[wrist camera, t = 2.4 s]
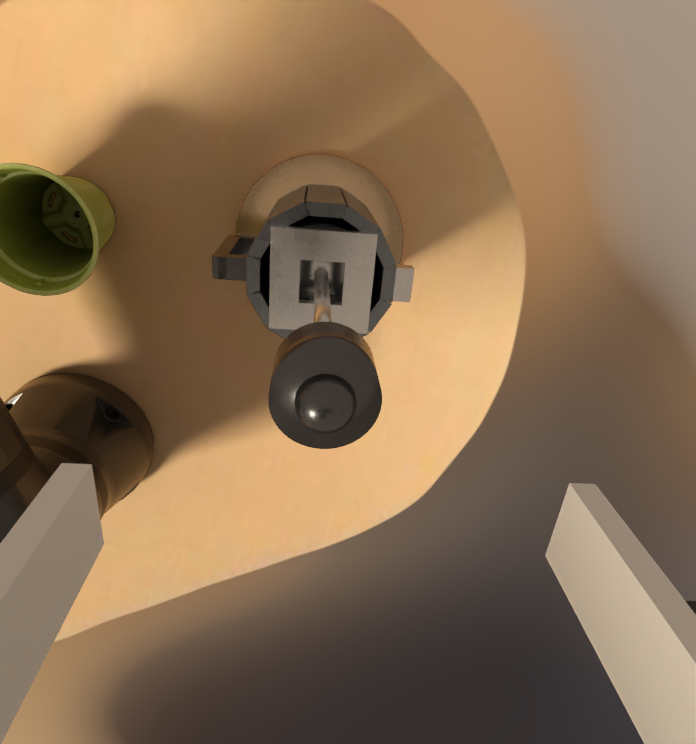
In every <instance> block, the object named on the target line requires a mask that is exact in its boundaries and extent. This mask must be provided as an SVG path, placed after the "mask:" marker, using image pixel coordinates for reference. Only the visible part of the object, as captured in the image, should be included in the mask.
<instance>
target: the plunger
mask: <svg viewBox="0 0 696 744" xmlns="http://www.w3.org/2000/svg"><path fill="white" fill-rule="evenodd" d="M301 227H310V228H324V229H338V230H346V229H344V228H342V227H340V226H338V225H334V224H331V223H324V222H317V223H310V224H306V225H303V226H301ZM343 274H344V263H342V262H327V261H313V260H301V261H300V285H299V299H302V300H314V323H310V324H307V325H304V326H302V327H300V328H298V329H296V330H295V331H293V332H292V333H290V334H289V335H288V336H287V337H286V338H285V340H284V341H283V342H282V343H281V345H280V347H279V349H278V351H277V354H276V357H275V362H274V367H273V373H272V379H271V384H270V390H269V408H270V413H271V415H272V418H273V420H274V422H275V423H276V425H277V426H278V428H279V429H280V430H281V431H282V432H283V433H284V434H285V435H286V436H288V437H289V438H290V439H292V440H293V441H295V442H297V443H299V444H302V445H305V446H308V447H312V448H319V449H330V448H337V447H341V446H345V445H347V444H350V443H352V442H354V441H356V440H358V439H359V438H361V437H362V436H363V435H364V434H366V433H367V432H368V431H369V429H370V428H371V427H372V426H373V424H374V423H375V421H376V419H377V418H378V415H379V413H380V409H381V404H382V393H381V388H380V384H379V380H378V376H377V371H376V367H375V363H374V359H373V355H372V352H371V350H370V347H369V346H368V344H367V342H366V341H365V340H364V339H363V337H361V336H360V335H359V334H358V333H357V332H356V331H354V330H353V329H351V328H349V327H347V326H345V325H342V324H339V323H335V322H332V315H331V303H330V301H335V302H341V299H342V287H343Z"/></svg>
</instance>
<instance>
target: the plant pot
mask: <svg viewBox="0 0 696 744" xmlns="http://www.w3.org/2000/svg"><path fill="white" fill-rule="evenodd" d="M53 192H55V193H56V196H55V198H54V200H53V203H52V207H50V206H49V205H48V203H49V200H50V195H51V194H52V193H53ZM76 211H78V212H80V217H79V218H78V217H76V216H75V212H76ZM114 227H115V214H114V211H113V209H112V207H111V204H110V202H109V200H108V198H107V196H106V195H105V193H104V192H103V191H102V190H101V189H100V188H98V187H97V186H96V185H95V184H93V183H91V182H90V181H88V180H85V179H82V178H79V177H71V176H59V175H54V174H52V173H51V172H49V171H46V170H44V169H41V168H39V167H35V166H32V165H27V164H20V163H4V164H0V281H1V282H2V283H4V284H6V285H8V286H10V287H12V288H14V289H16V290H19V291H22V292H25V293H28V294H34V295H43V296H50V295H58V294H63V293H66V292H69V291H72V290H74V289H75V288H77V287H79V286H80V285H81V284H82V283H84V282H85V281H86V280H87V279H88V277H89V276H90V275H91V273H92V272H93V270H94V268H95V266H96V263H97V260H98V255H99V250H100V249H101V248H102V247H103V246H104V245H105V243H106V242H107V241H108V240H109V239H110V237H111V236H112V234H113V231H114ZM62 232H65V233H67V234H68V235H70V236H72V237H74V238H77V239H78V241H77V242H74V241H71V240H69V239H68V238H66V237H65V236H64V235H63V234H62Z"/></svg>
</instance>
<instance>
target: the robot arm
mask: <svg viewBox="0 0 696 744" xmlns="http://www.w3.org/2000/svg"><path fill="white" fill-rule="evenodd" d="M153 452H154V439H153V434H152V430H151V427H150V425H149V423H148V421H147V419H146V417H145V415H144V414H143V412H142V411H141V410H140V408H139V407H138V406H137V405H136V404H135V403H134V402H133V401H132V400H131V399H130V398H129V397H128V396H127V395H125V394H124V393H123V392H121V391H120V390H118V389H117V388H115V387H113V386H111V385H110V384H107V383H105V382H103V381H100V380H98V379H95V378H92V377H88V376H83V375H77V374H53V375H47V376H43V377H40V378H37V379H35V380H32V381H30V382H29V383H27V384H25V385H24V386H22V387H21V388H20V389H19V390H17V391H16V392H15V393H14V394H13V395H12V396H11V397H10V398H8V399H7V400H6V401H5V403H4V402H3V401H2V399H1V397H0V744H1V743H2V741H3V739H4V737H5V735H6V733H7V731H8V729H9V727H10V725H11V724H12V722H13V720H14V718H15V716H16V714H17V712H18V710H19V708H20V706H21V704H22V702H23V700H24V698H25V696H26V694H27V692H28V691H29V689H30V687H31V685H32V683H33V681H34V679H35V677H36V675H37V673H38V671H39V669H40V667H41V665H42V663H43V661H44V659H45V657H46V655H47V654H48V652H49V650H50V648H51V646H52V644H53V642H54V640H55V638H56V636H57V634H58V632H59V630H60V628H61V626H62V624H63V622H64V620H65V618H66V617H67V615H68V613H69V611H70V609H71V607H72V605H73V603H74V601H75V599H76V597H77V595H78V593H79V591H80V589H81V587H82V585H83V583H84V581H85V580H86V578H87V576H88V574H89V572H90V570H91V568H92V566H93V564H94V562H95V560H96V558H97V556H98V554H99V552H100V550H101V548H102V546H103V544H104V540H103V534H102V527H101V521H100V520H101V518H102V516H103V514H104V513H106V512H107V511H108V510H109V509H110V508H111V507H113V506H114V505H115V504H116V503H117V502H118V501H120V500H122V499H123V498H125V497H126V496H127V495H129V494H130V493H131V492H132V491H133V490H134V489H135V488H136V487H137V486H138V485H139V483H140V482H141V481H142V479H143V477H144V475H145V473H146V471H147V469H148V467H149V465H150V463H151V460H152V457H153ZM545 556H546V558H547V560H548V562H549V563H550V565H551V567H552V569H553V571H554V573H555V575H556V577H557V579H558V581H559V583H560V584H561V586H562V588H563V590H564V592H565V594H566V596H567V598H568V600H569V602H570V603H571V605H572V607H573V609H574V611H575V613H576V615H577V617H578V619H579V621H580V622H581V624H582V626H583V628H584V630H585V632H586V634H587V636H588V638H589V640H590V641H591V643H592V645H593V647H594V649H595V651H596V653H597V655H598V657H599V659H600V660H601V662H602V664H603V666H604V668H605V670H606V672H607V673H608V676H609V678H610V679H611V681H612V683H613V685H614V687H615V689H616V691H617V693H618V695H619V696H620V698H621V700H622V702H623V704H624V706H625V708H626V710H627V712H628V714H629V716H630V717H631V719H632V721H633V723H634V725H635V727H636V729H637V731H638V732H639V735H640V736H641V738H642V740H643V742H644V744H696V601H685V600H684V599H683V598H682V596H681V595H680V594H679V593H678V591H677V590H676V589H675V587H674V586H673V585H672V583H671V582H670V581H669V579H668V578H667V577H666V575H665V574H664V573H663V572H662V570H661V569H660V568H659V567H658V565H657V564H656V563H655V561H654V560H653V559H652V557H651V556H650V555H649V553H648V552H647V551H646V549H645V548H644V547H643V546H642V544H641V543H640V542H639V540H638V539H637V538H636V537H635V535H634V534H633V533H632V531H631V530H630V529H629V527H628V526H627V525H626V524H625V522H624V521H623V520H622V518H621V517H620V516H619V514H618V513H617V512H616V511H615V509H614V508H613V507H612V505H611V504H610V503H609V501H608V500H607V499H606V498H605V496H604V495H603V494H602V493H601V491H600V490H599V488H598V487H597V486H596V485H595V484H578V483H576V484H575V483H569V486H568V489H567V493H566V495H565V499H564V501H563V504H562V508H561V511H560V513H559V516H558V519H557V522H556V526H555V528H554V532H553V534H552V537H551V540H550V543H549V546H548V549H547V552H546V555H545Z"/></svg>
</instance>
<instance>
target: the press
mask: <svg viewBox="0 0 696 744" xmlns="http://www.w3.org/2000/svg"><path fill="white" fill-rule="evenodd" d="M317 222H324V223H331V224H334V225H338V226H340V227H342V228H344V229H346V230H338V229H324V228H310V227H301V226H303V225H306V224H310V223H317ZM402 246H403V234H402V225H401V220H400V216H399V213H398V210H397V207H396V205H395V203H394V201H393V199H392V197H391V196H390V194H389V193H388V191H387V190H386V188H385V187H384V186H383V185H382V183H381V182H380V181H379V180H378V179H377V178H376V177H375V176H374V175H372V174H371V173H370V172H369V171H368V170H366V169H365V168H363V167H362V166H360V165H358V164H356V163H354V162H352V161H350V160H348V159H344V158H341V157H338V156H333V155H326V154H311V155H303V156H299V157H296V158H292V159H289V160H287V161H285V162H283V163H280V164H279V165H277V166H276V167H274V168H272V169H271V170H270V171H268V172H267V173H266V174H265V175H264V176H262V177H261V178H260V179H259V181H258V182H257V183H256V184H255V185H254V186H253V188H252V189H251V191H250V192H249V194H248V195H247V197H246V199H245V201H244V203H243V205H242V208H241V211H240V214H239V217H238V222H237V228H236V235H229V236H228V237H227V238H226V239H225V241H224V242H223V243H222V244H221V246H220V247H219V248H218V249H217V251H216V252H215V253H214V254H213V256H212V271H213V279H227V280H243V281H246V283H247V293H248V295H247V296H248V298H249V299H250V301H251V303H252V305H253V306H254V308H255V310H256V311H257V313H258V315H259V317H260V318H261V320H262V322H263V323H264V325H265V327H266V326H267V329H269V330H271V331H272V332H274V333H276V334H277V335H279V336H281V337H283V338H284V339H285V338H286V337H287V336H288V335H289V334H290V333H292V332H293V331H295V330H296V329H298V328H300V327H302V326H304V325H307V324H310V323H314V300H302V299H299V285H300V261H301V260H313V261H327V262H342V263H344V274H343V287H342V299H341V302H335V301H330V303H331V315H332V322H335V323H339V324H342V325H345V326H347V327H349V328H351V329H353V330H354V331H356V332H357V333H358V334H359V335H360V336H361V337H363V336H365V335H368V334H369V333H368V331H369V332H370V333H371V331H372V330H373V329H374V327H375V326H376V325H377V323H378V322H379V320H380V319H381V318H382V316H383V315H384V314H385V312H386V311H387V310H388V308H389V307H390V306H391V302H392V301H401V302H410V297H411V290H412V282H413V275H414V268H413V266H412V265H399V263H400V259H401V254H402Z"/></svg>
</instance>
